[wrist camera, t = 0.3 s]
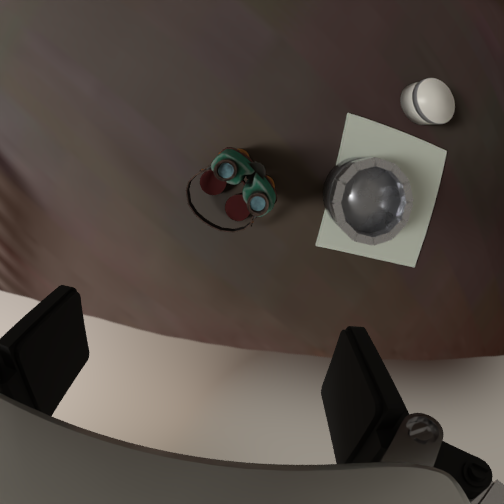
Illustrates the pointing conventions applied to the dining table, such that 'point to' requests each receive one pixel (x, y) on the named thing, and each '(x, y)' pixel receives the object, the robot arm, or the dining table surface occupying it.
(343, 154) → the mat
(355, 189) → the grey ring
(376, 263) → the dining table surface
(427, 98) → the cap
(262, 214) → the binoculars
